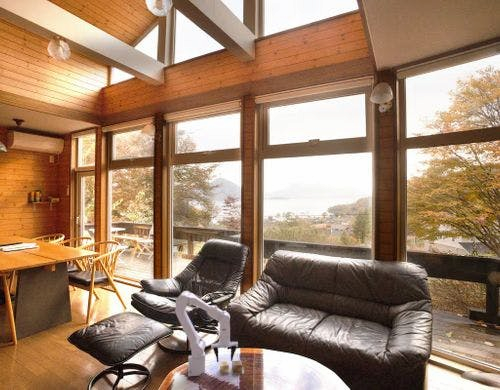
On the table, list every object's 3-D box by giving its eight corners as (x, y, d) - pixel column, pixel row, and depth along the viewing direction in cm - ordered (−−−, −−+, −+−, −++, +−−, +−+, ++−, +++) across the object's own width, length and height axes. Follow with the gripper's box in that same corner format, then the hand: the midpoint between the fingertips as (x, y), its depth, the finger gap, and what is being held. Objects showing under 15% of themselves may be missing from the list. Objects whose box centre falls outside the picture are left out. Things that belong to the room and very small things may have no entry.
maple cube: (220, 374, 161) (220, 366, 162) (219, 370, 166) (220, 361, 166) (228, 373, 162) (229, 365, 162) (228, 369, 167) (228, 361, 167)
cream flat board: (229, 375, 160) (229, 374, 160) (228, 367, 169) (228, 366, 169) (249, 373, 162) (249, 372, 162) (247, 365, 171) (247, 364, 171)
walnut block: (233, 373, 162) (233, 365, 162) (232, 368, 167) (232, 361, 167) (242, 372, 163) (242, 364, 163) (240, 367, 167) (241, 360, 168)
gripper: (211, 339, 160) (211, 365, 159) (238, 337, 162) (238, 363, 162) (211, 334, 167) (211, 359, 166) (236, 332, 169) (236, 356, 169)
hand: (224, 360), depth 164 cm, fingers open, 7 cm apart
